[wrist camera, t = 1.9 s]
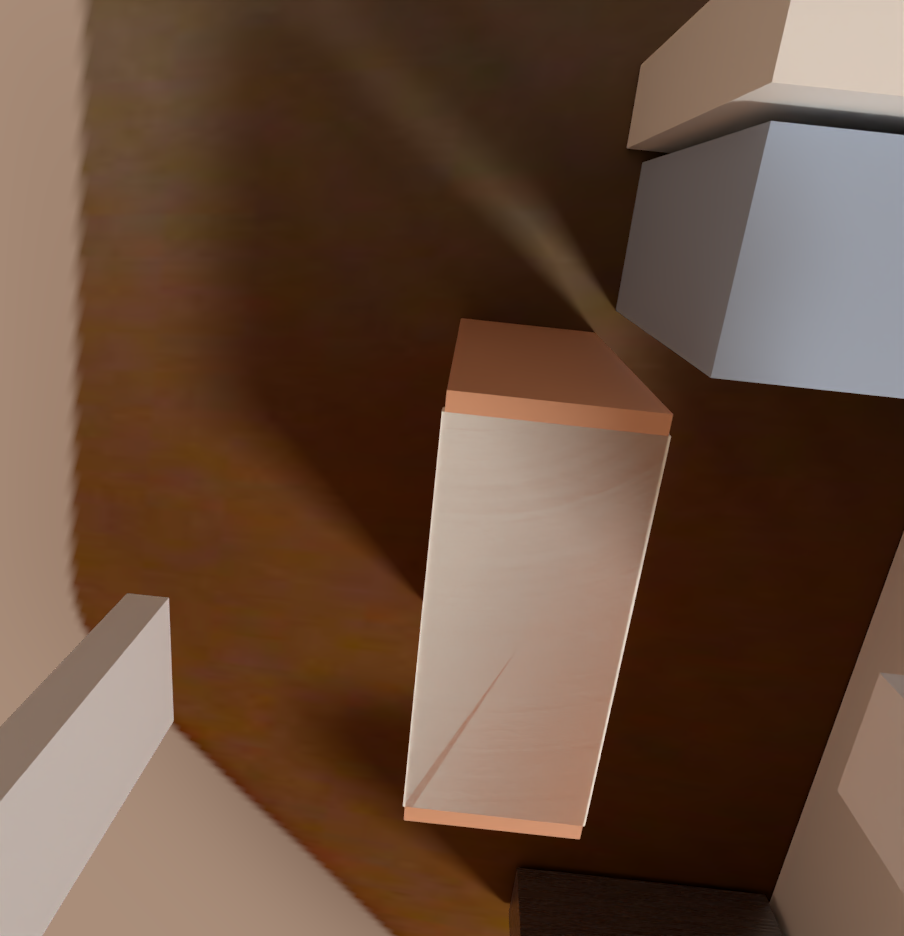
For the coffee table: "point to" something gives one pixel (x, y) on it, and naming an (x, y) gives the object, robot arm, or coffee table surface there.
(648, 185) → the blue book
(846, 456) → the coffee table surface
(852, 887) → the white upright backboard
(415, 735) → the rust book
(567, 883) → the bookend
